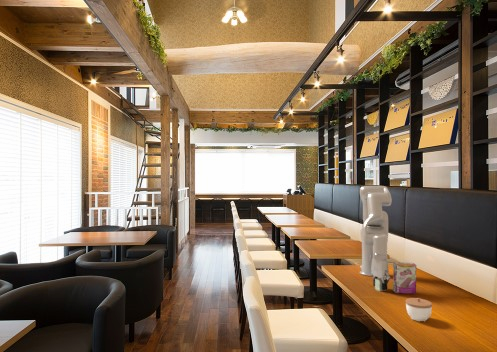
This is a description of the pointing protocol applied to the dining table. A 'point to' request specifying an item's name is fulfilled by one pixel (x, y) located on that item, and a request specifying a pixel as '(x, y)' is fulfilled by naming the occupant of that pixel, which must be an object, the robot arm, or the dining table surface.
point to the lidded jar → (418, 308)
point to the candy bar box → (404, 278)
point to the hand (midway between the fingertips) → (380, 287)
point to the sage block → (378, 284)
